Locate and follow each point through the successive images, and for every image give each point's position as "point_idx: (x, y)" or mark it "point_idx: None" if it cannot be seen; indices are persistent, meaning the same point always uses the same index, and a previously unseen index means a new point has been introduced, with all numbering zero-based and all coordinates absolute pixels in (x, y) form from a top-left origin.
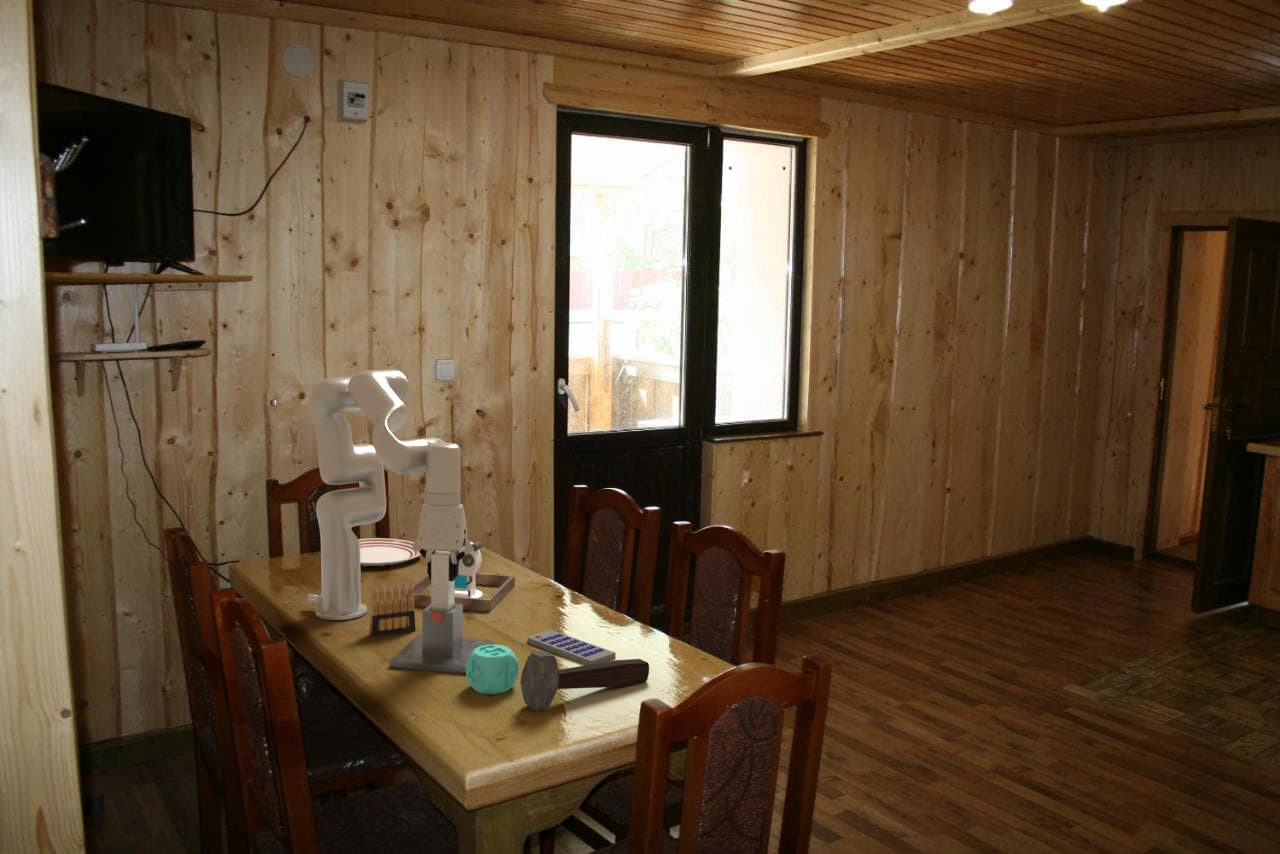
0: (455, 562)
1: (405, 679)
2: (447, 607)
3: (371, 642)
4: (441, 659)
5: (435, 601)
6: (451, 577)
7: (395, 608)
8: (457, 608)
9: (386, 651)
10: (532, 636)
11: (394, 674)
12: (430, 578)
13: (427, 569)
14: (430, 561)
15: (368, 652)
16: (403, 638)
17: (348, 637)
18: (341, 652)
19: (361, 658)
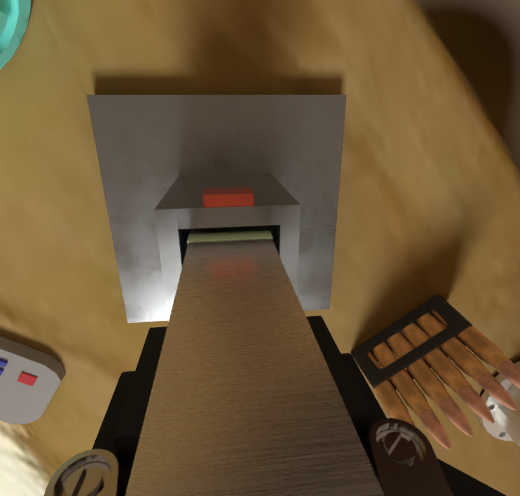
0: (79, 474)
1: (262, 3)
2: (193, 243)
3: (430, 260)
4: (200, 144)
5: (254, 248)
6: (150, 342)
7: (424, 369)
8: (164, 276)
9: (380, 212)
10: (45, 378)
11: (308, 41)
12: (312, 317)
13: (362, 376)
14: (366, 441)
15: (422, 194)
16: (363, 303)
17: (488, 275)
18: (487, 176)
19: (429, 147)
